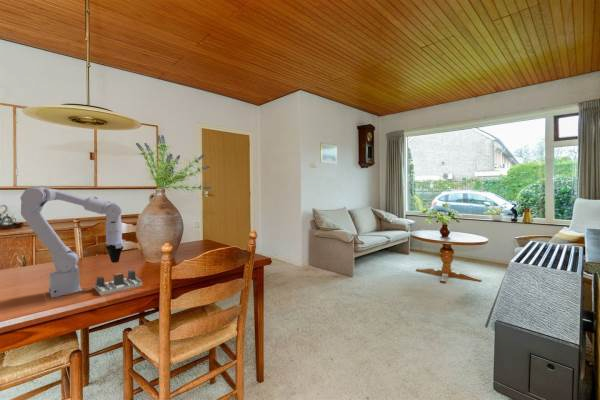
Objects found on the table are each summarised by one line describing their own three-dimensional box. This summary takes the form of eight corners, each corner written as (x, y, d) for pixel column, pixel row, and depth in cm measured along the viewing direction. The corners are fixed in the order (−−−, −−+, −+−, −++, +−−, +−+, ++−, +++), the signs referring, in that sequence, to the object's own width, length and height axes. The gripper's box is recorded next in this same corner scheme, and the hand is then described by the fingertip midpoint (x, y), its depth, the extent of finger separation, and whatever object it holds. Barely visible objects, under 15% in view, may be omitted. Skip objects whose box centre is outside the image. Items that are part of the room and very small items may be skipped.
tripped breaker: (115, 285, 116) (115, 275, 116) (113, 283, 118) (113, 273, 118) (123, 283, 118) (123, 273, 118) (121, 281, 120) (121, 272, 120)
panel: (100, 295, 109) (100, 283, 109) (94, 288, 117) (93, 276, 117) (142, 285, 120) (142, 274, 120) (133, 279, 128) (133, 269, 128)
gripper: (129, 232, 118) (130, 263, 119) (119, 228, 128) (120, 257, 129) (109, 234, 113) (111, 266, 114) (101, 230, 123) (102, 260, 124)
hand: (114, 261), depth 121 cm, fingers closed
